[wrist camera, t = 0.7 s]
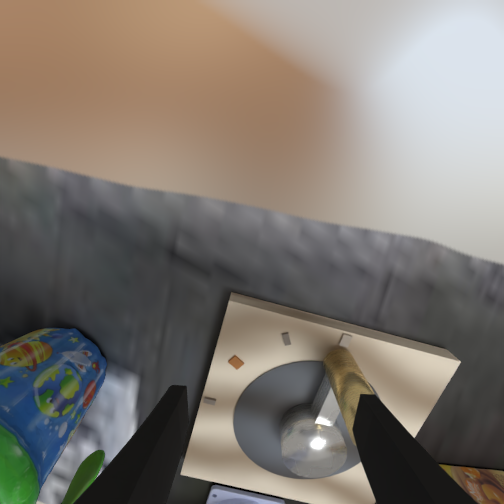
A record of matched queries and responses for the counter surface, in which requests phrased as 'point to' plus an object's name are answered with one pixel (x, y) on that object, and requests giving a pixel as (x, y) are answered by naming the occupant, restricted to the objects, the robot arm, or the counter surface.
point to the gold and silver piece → (324, 419)
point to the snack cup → (45, 409)
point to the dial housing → (299, 396)
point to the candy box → (479, 483)
